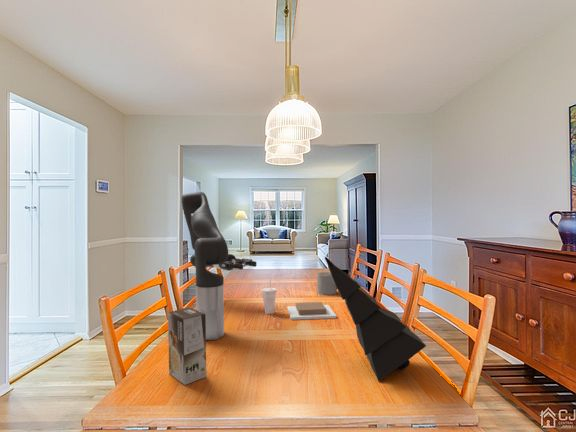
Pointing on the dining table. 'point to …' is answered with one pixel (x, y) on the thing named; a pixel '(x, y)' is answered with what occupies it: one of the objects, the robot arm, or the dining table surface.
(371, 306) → the decorative tree
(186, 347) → the coffee box
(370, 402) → the dining table surface
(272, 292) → the smoothie
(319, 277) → the coffee mug
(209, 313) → the robot arm
